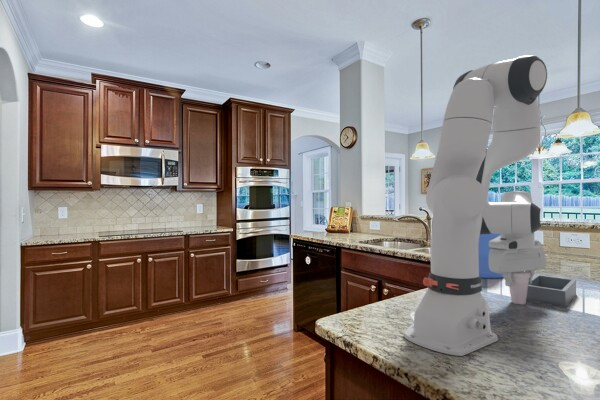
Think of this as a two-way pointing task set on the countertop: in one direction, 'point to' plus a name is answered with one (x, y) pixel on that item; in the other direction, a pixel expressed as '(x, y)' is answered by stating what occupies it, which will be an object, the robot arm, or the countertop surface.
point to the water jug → (486, 256)
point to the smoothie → (519, 287)
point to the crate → (551, 290)
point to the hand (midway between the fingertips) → (518, 285)
